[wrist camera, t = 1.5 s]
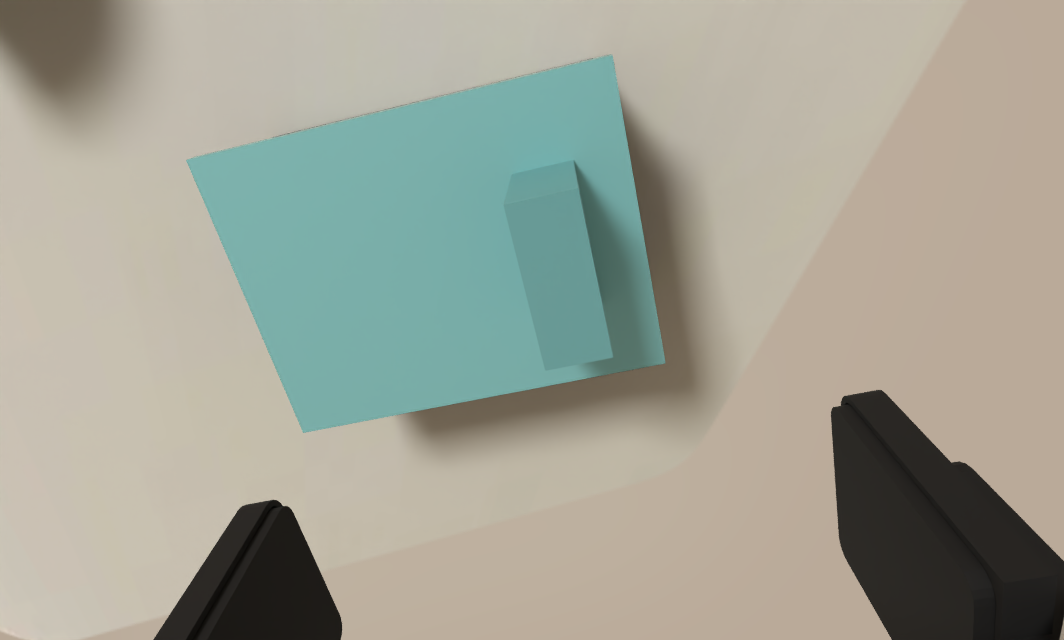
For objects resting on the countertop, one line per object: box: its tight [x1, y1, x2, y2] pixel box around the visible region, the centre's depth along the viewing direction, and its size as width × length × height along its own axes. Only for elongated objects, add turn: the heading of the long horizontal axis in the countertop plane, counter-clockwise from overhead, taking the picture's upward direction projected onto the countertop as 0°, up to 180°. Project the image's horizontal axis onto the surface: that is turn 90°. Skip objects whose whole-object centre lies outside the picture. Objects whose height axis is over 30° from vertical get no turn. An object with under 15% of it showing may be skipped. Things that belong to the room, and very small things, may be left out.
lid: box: [186, 54, 665, 433], centre depth 26 cm, size 17×13×7 cm
